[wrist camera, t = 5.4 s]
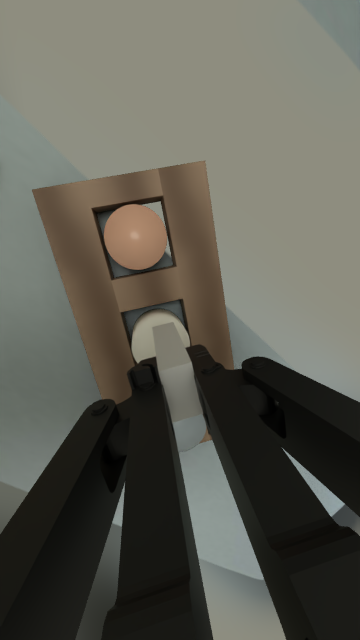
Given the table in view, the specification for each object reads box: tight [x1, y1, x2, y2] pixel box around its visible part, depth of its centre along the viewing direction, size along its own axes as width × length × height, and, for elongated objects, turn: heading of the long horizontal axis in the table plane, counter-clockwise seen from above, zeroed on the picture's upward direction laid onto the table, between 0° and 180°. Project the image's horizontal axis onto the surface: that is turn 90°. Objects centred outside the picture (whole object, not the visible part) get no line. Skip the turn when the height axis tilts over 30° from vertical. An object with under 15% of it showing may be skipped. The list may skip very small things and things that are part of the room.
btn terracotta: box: [104, 204, 167, 270], centre depth 21 cm, size 5×5×4 cm
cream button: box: [132, 309, 190, 363], centre depth 22 cm, size 5×5×4 cm
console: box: [32, 161, 234, 443], centre depth 25 cm, size 14×28×2 cm, turn 11°
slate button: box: [172, 414, 206, 452], centre depth 25 cm, size 5×5×4 cm
